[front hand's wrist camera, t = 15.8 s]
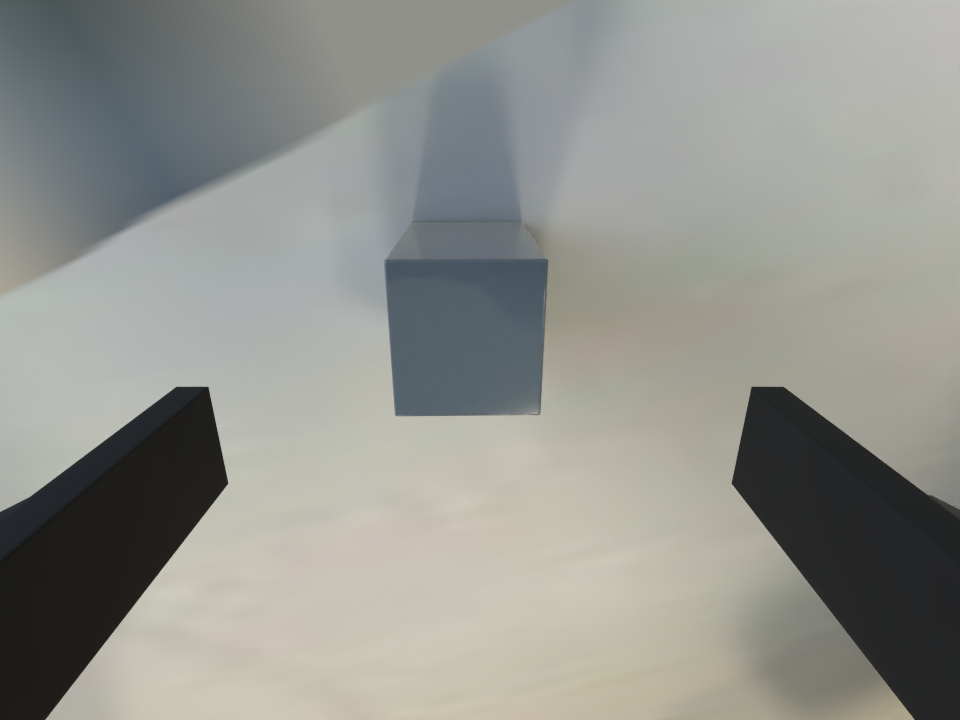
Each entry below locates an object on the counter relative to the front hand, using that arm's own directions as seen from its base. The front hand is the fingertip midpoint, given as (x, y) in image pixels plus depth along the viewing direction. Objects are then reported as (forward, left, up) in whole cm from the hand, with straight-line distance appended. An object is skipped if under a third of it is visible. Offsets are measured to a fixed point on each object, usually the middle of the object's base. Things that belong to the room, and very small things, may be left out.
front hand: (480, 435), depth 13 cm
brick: (0, +1, -14) cm, 14 cm away
